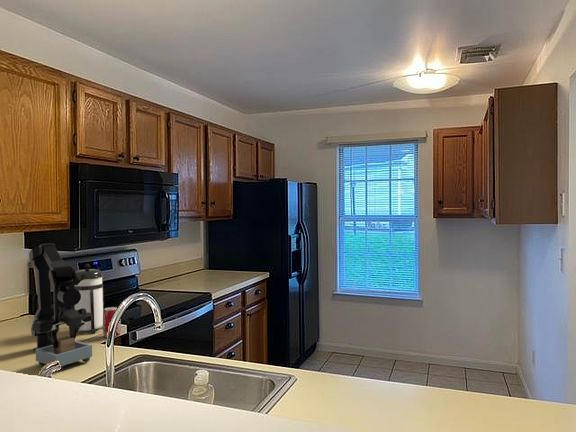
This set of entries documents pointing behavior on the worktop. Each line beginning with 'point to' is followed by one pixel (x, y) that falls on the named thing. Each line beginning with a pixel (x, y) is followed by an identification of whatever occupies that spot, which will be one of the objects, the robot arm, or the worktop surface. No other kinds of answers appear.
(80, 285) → the coffee press
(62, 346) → the walnut block
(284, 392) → the worktop surface
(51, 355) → the cart
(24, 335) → the worktop surface
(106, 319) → the soda can
